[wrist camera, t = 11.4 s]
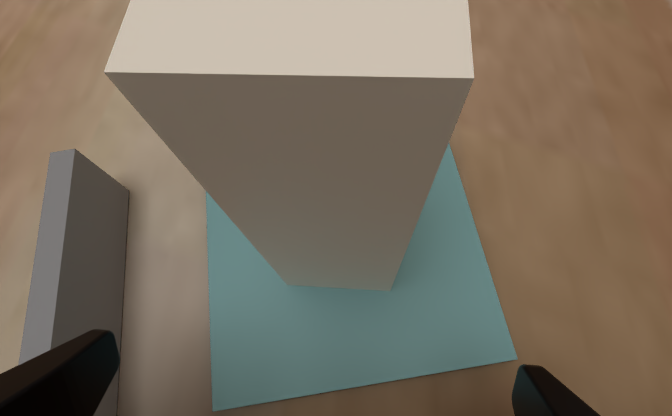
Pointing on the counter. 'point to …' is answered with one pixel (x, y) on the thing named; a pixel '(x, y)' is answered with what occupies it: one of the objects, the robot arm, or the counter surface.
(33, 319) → the long gray bar
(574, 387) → the counter surface
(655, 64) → the counter surface
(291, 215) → the tall cream pillar
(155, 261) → the counter surface
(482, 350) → the mat
